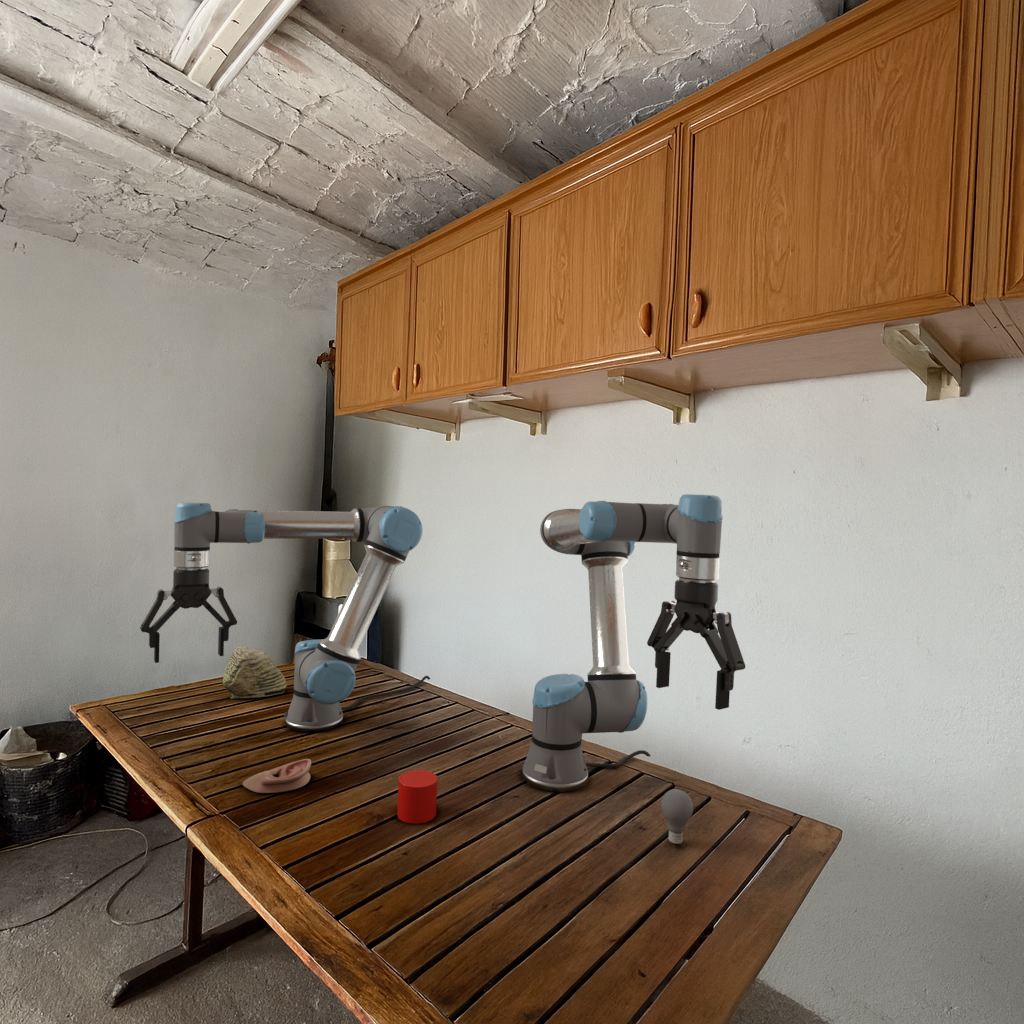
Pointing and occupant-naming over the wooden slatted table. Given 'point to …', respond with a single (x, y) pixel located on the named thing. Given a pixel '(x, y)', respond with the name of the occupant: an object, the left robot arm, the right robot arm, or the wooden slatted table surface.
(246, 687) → the fossil
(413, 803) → the can
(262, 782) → the anatomical model
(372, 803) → the wooden slatted table surface
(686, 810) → the light bulb
